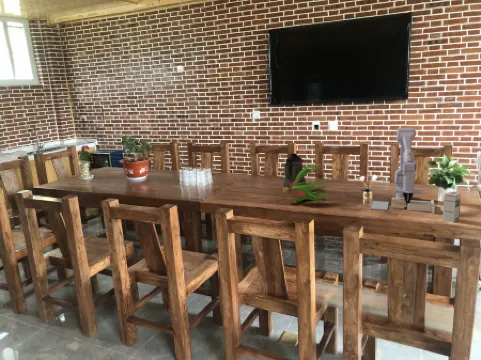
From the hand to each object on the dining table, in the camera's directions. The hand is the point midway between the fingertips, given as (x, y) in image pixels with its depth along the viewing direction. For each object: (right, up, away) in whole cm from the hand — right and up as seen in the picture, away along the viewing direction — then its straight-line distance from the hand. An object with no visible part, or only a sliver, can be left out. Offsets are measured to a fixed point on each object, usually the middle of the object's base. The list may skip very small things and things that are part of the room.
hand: (407, 205), depth 226 cm
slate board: (-14, -1, +6) cm, 15 cm away
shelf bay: (+6, -2, -2) cm, 7 cm away
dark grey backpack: (-57, +8, +57) cm, 81 cm away
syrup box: (+13, -6, -22) cm, 26 cm away
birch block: (-5, -1, +2) cm, 5 cm away
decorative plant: (-54, +1, +24) cm, 59 cm away
